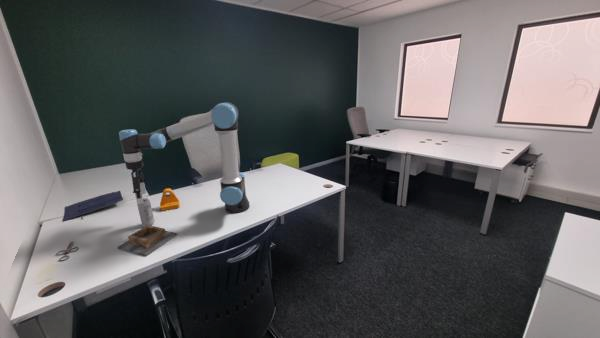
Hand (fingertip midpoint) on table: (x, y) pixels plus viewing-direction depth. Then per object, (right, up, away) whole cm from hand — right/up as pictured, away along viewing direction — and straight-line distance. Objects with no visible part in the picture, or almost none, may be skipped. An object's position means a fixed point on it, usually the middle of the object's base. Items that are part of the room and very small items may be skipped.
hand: (142, 198), depth 130 cm
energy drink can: (0, -15, +5) cm, 16 cm away
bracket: (+2, -9, +25) cm, 26 cm away
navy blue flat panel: (-48, -9, +27) cm, 55 cm away
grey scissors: (-24, -23, -16) cm, 37 cm away
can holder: (+10, -20, -10) cm, 24 cm away
